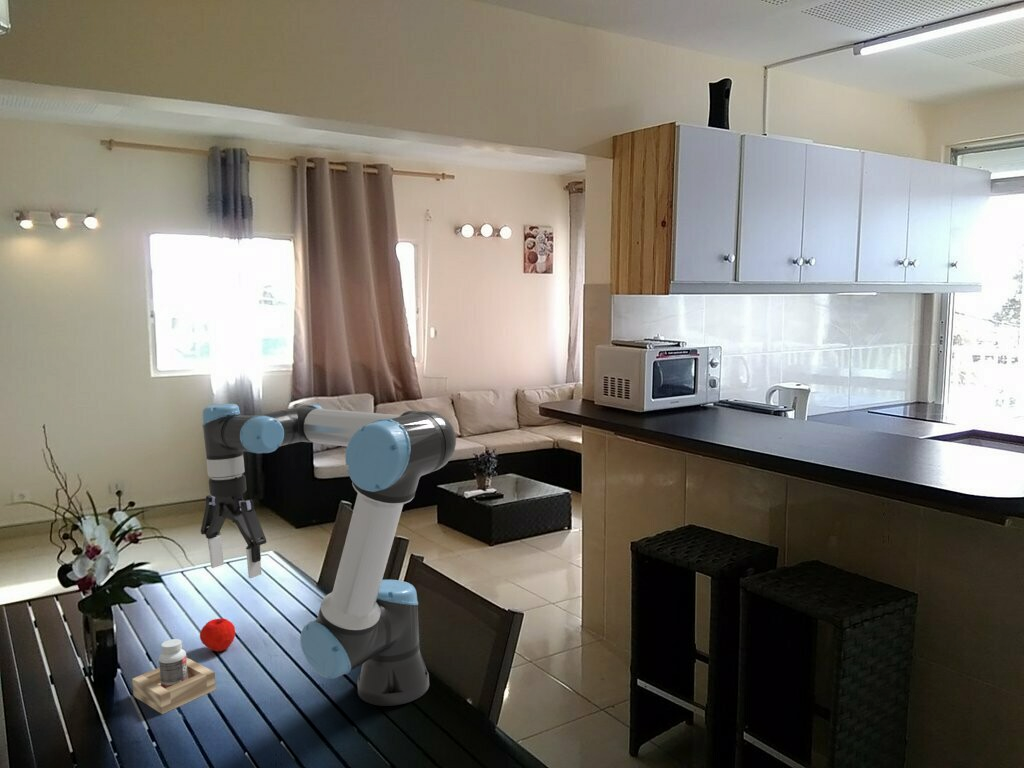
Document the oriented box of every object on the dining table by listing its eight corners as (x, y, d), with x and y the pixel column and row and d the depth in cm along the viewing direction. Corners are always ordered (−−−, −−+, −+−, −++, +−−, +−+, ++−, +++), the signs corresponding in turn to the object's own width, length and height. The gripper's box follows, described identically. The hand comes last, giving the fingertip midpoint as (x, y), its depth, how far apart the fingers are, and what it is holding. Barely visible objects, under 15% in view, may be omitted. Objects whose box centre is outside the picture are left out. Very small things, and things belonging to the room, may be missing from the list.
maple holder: (216, 689, 168) (214, 672, 168) (162, 714, 159) (160, 695, 159) (186, 673, 176) (185, 656, 175) (133, 696, 167) (132, 678, 166)
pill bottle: (190, 687, 167) (187, 644, 165) (163, 695, 164) (159, 651, 162) (185, 677, 171) (182, 635, 170) (159, 684, 168) (155, 641, 167)
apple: (194, 655, 185) (191, 625, 184) (215, 640, 192) (213, 611, 192) (222, 658, 183) (220, 628, 182) (243, 643, 190) (241, 614, 189)
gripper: (278, 477, 164) (286, 574, 167) (208, 467, 179) (217, 557, 181) (247, 485, 158) (256, 586, 160) (178, 474, 173) (187, 567, 175)
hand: (235, 571), depth 171 cm, fingers open, 13 cm apart
